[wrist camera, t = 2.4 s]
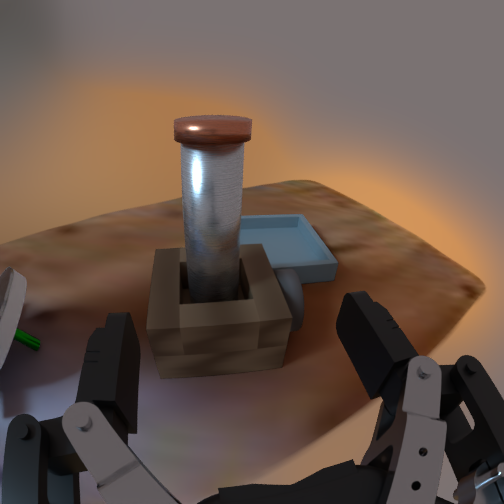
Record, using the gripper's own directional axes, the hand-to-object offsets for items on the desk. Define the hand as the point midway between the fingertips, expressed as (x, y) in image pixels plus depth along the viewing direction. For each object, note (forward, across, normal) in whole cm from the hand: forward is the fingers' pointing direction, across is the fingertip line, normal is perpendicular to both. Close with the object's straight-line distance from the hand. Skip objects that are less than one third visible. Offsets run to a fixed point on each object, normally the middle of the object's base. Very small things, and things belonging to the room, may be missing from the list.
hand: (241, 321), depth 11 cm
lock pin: (+11, 0, +10) cm, 15 cm away
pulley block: (+11, -1, +13) cm, 17 cm away
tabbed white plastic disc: (+8, +21, +13) cm, 26 cm away
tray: (+23, -8, +12) cm, 28 cm away
